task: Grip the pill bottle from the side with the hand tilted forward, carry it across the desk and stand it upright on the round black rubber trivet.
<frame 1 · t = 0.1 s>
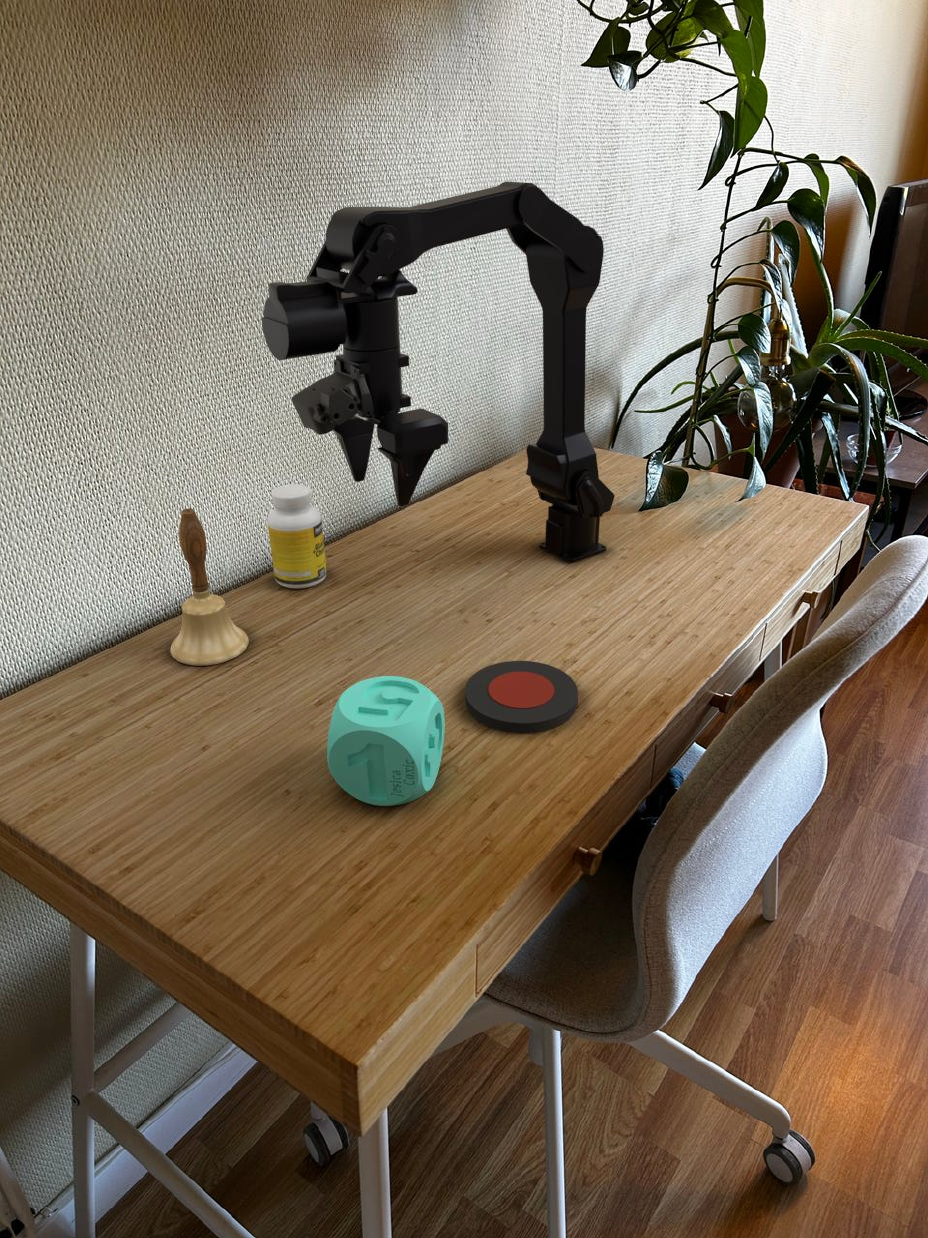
hand: (380, 492, 99), 15 cm above the table, tool pointing down, fingers open, 9 cm apart
trivet: (521, 700, 89), on the table
decorative dice: (390, 779, 79), on the table
hand bell: (210, 648, 100), on the table
pill bottle: (301, 580, 114), on the table
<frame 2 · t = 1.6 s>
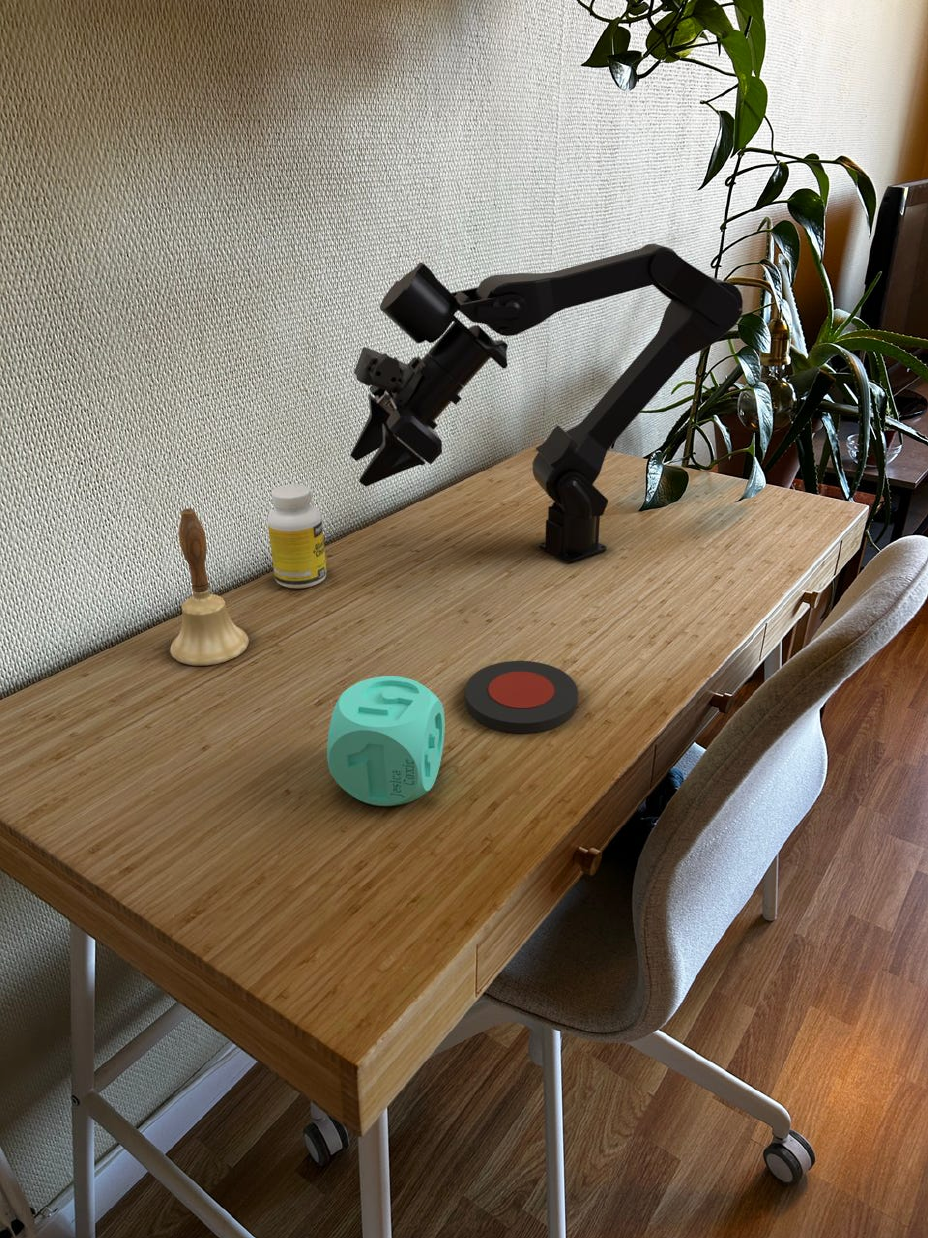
hand: (357, 470, 108), 13 cm above the table, tool tilted 45°, fingers open, 9 cm apart
nothing on the table moved.
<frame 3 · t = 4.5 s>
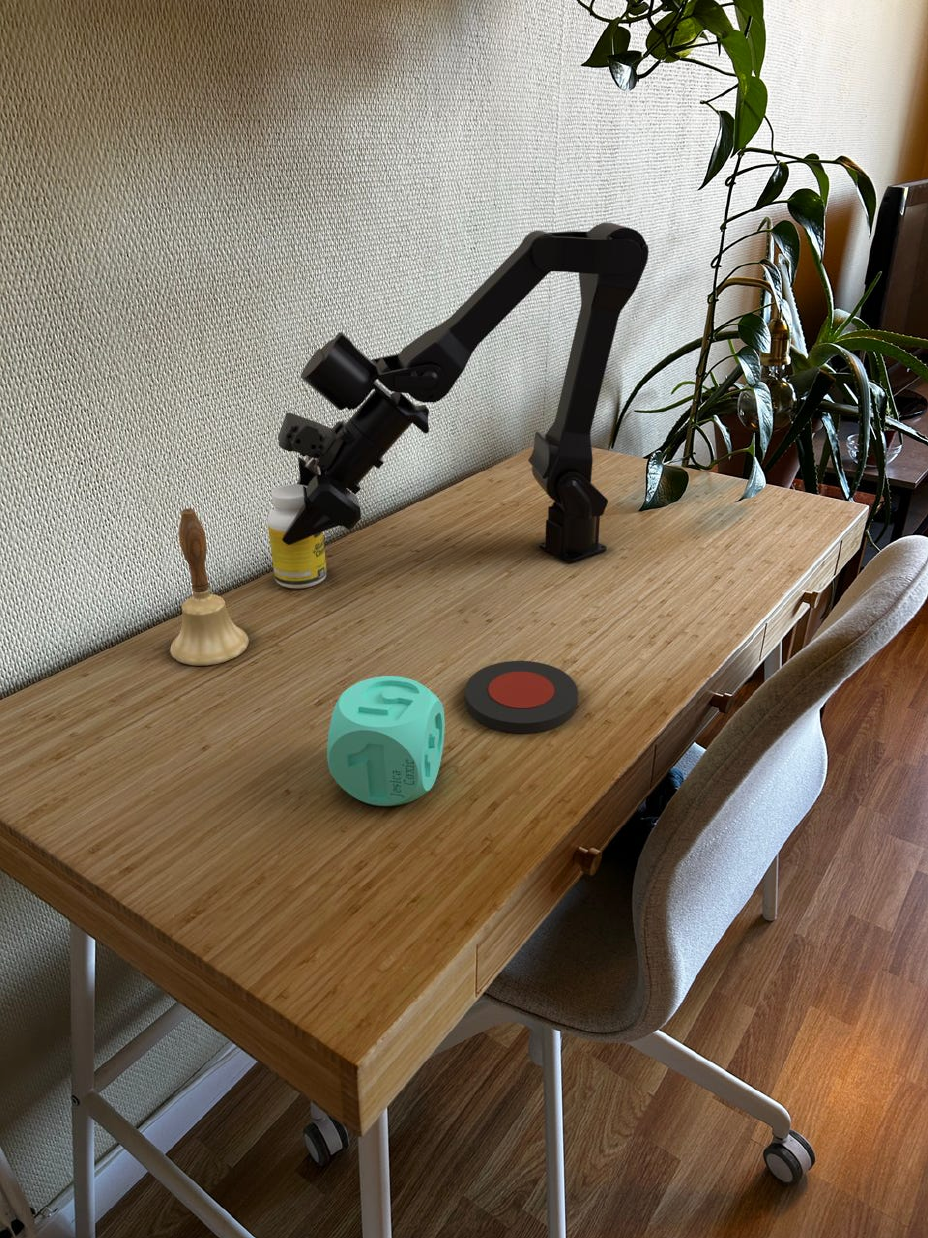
hand: (283, 531, 110), 7 cm above the table, tool tilted 45°, fingers closed on pill bottle, 6 cm apart
pill bottle: (301, 580, 114), on the table, touching gripper
everything else where it was.
when the fingers open (8 cm above the table, at t = 13.6 s): pill bottle stays where it is, resting on trivet.
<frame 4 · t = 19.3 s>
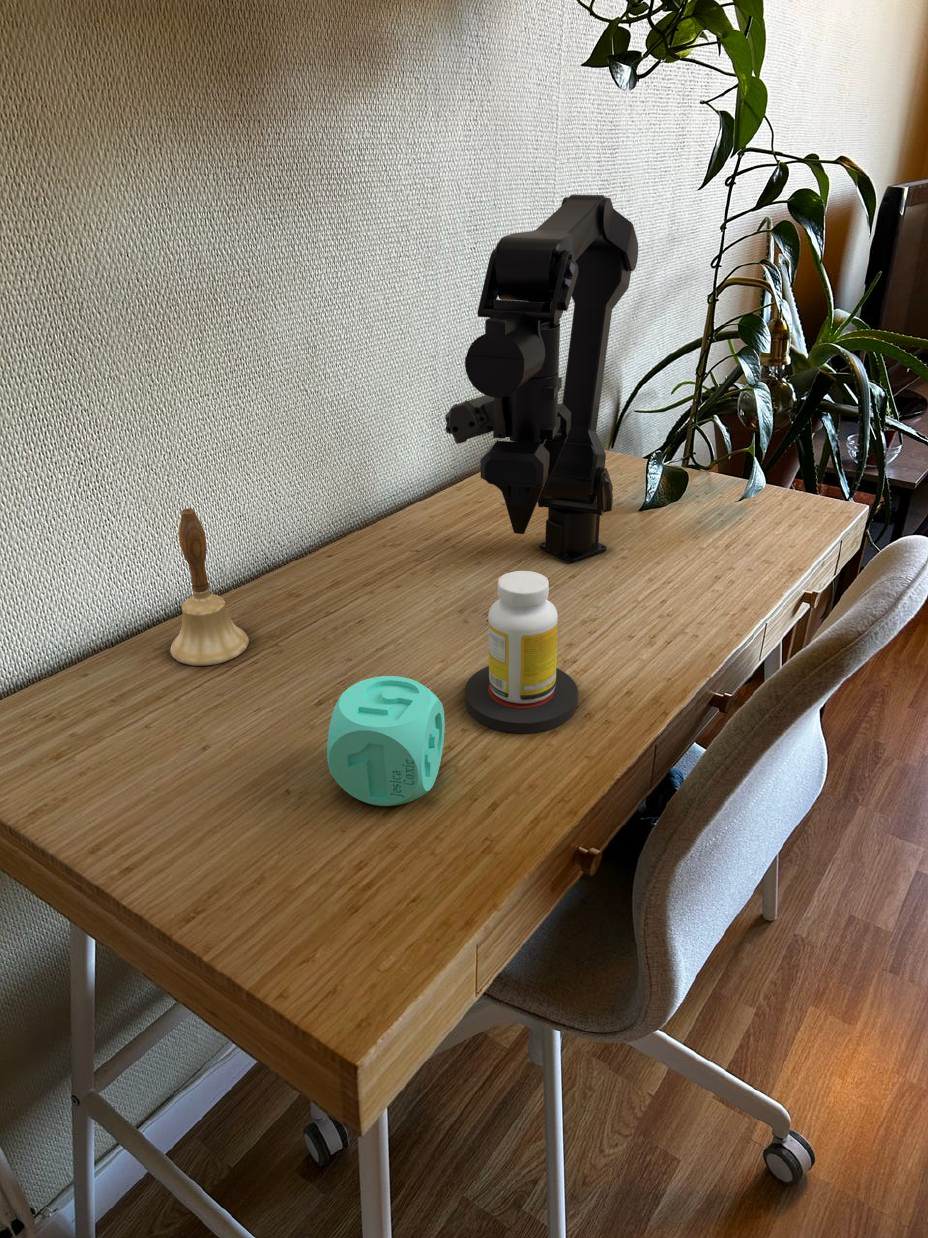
hand: (527, 516, 99), 12 cm above the table, tool pointing down, fingers open, 9 cm apart
pill bottle: (521, 690, 89), point 1 cm above the table, touching trivet
everything else where it was.
at the end: pill bottle 0.1 cm off-centre on the trivet, point 1.1 cm above the trivet's base; pill bottle tilted 0°; the gripper is holding nothing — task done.
